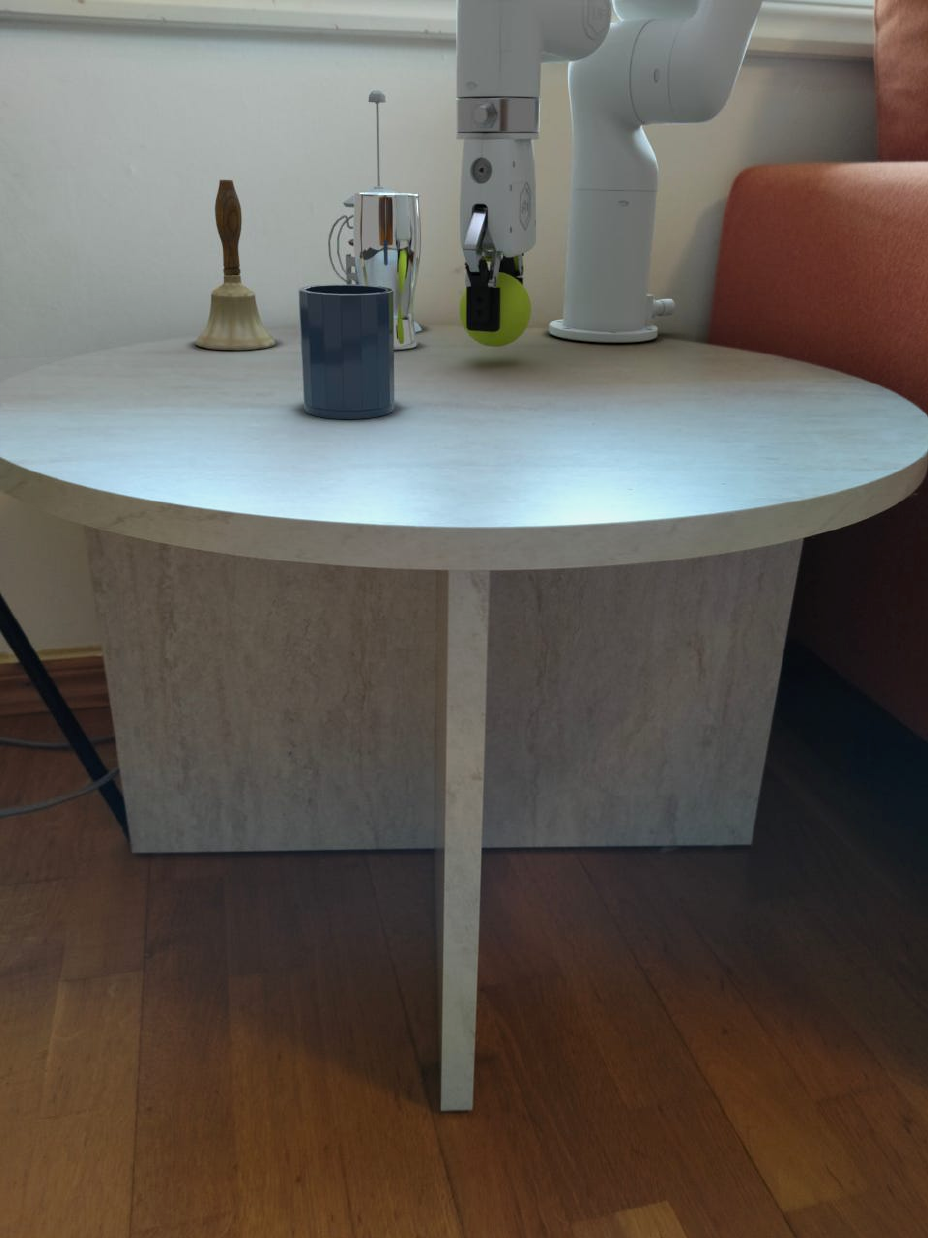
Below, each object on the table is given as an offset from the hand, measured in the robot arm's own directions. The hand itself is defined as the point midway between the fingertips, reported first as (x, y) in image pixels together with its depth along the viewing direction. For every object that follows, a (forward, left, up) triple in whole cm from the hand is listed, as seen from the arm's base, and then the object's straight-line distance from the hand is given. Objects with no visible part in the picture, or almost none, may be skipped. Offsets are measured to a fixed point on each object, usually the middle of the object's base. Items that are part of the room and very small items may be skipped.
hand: (494, 322), depth 97 cm
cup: (+23, +12, -4) cm, 26 cm away
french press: (0, -25, -4) cm, 25 cm away
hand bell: (+19, -21, -4) cm, 28 cm away
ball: (0, 0, +1) cm, 1 cm away
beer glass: (+5, -13, -4) cm, 14 cm away
